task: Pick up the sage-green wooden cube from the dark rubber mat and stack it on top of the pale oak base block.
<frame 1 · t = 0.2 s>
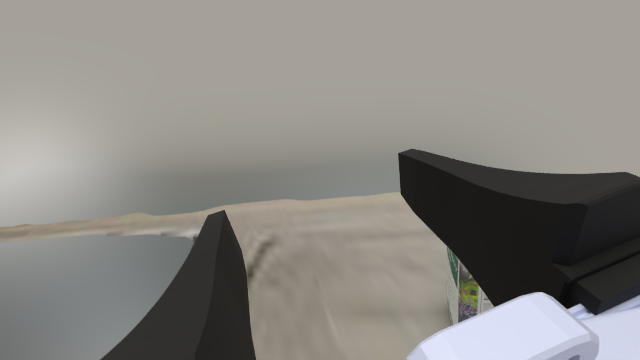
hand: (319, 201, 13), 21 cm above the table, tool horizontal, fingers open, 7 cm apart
syrup box: (488, 332, 28), on the table
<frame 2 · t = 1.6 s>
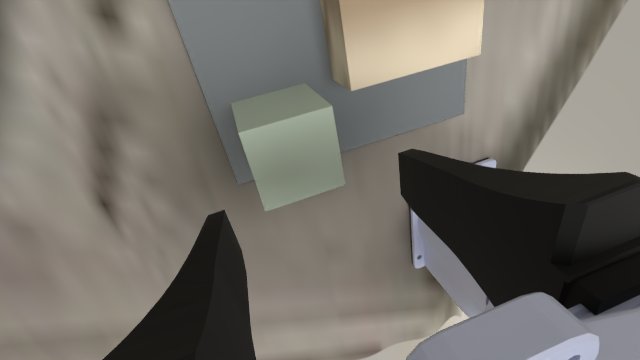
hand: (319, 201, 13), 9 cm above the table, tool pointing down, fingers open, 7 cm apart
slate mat: (339, 40, 19), on the table
sage block: (278, 128, 20), point 1 cm above the table, touching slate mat
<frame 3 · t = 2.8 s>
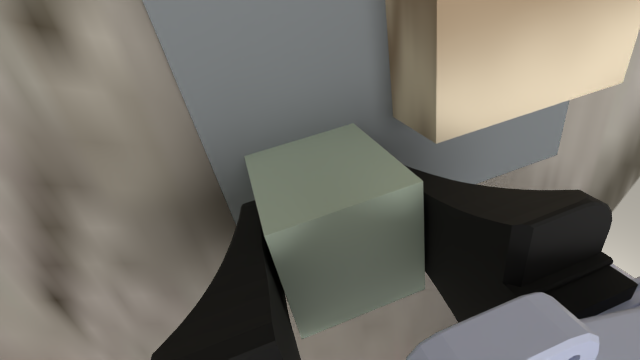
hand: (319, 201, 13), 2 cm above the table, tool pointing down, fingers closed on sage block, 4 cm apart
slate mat: (405, 59, 13), on the table
sage block: (311, 186, 14), point 1 cm above the table, touching gripper, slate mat
when the fingers open (6 cm above the table, at t = 6.1 s): sage block stays where it is, resting on oak base.
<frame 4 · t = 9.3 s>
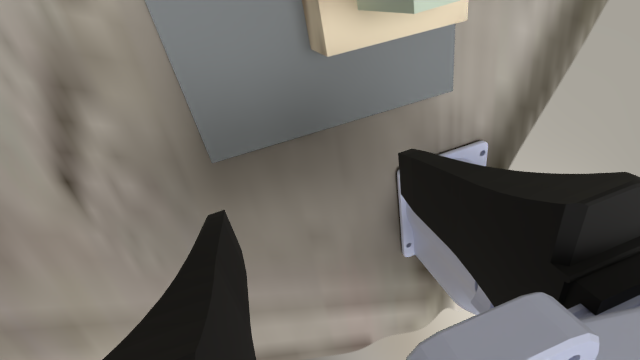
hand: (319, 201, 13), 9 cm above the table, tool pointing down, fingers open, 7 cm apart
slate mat: (317, 6, 18), on the table
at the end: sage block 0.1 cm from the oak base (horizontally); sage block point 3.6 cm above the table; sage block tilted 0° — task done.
